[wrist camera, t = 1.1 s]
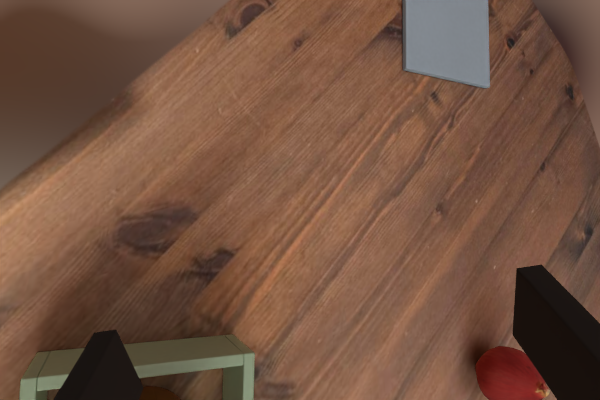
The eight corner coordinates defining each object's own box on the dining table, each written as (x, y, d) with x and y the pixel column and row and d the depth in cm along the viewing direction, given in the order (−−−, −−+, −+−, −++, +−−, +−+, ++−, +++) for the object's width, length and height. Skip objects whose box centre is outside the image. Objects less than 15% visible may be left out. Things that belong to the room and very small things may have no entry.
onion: (500, 343, 46) (574, 364, 38) (492, 397, 45) (566, 429, 37) (463, 334, 44) (533, 355, 36) (453, 390, 42) (524, 424, 35)
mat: (401, -58, 43) (405, -62, 43) (483, -27, 48) (487, -30, 48) (402, 70, 42) (406, 68, 42) (485, 88, 47) (490, 87, 47)
